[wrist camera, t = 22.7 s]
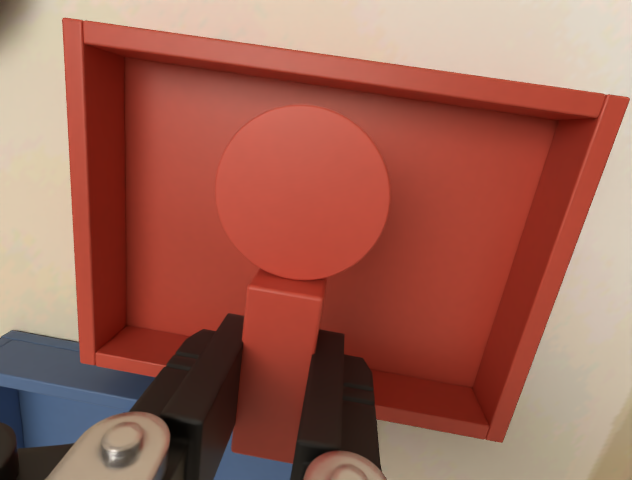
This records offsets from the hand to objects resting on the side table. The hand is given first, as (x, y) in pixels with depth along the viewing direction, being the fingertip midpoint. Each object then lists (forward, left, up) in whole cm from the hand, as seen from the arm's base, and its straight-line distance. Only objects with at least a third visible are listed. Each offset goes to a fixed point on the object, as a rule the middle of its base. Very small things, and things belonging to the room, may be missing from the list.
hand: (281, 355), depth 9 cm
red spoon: (-1, -2, 0) cm, 2 cm away
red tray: (-1, -2, -5) cm, 6 cm away
